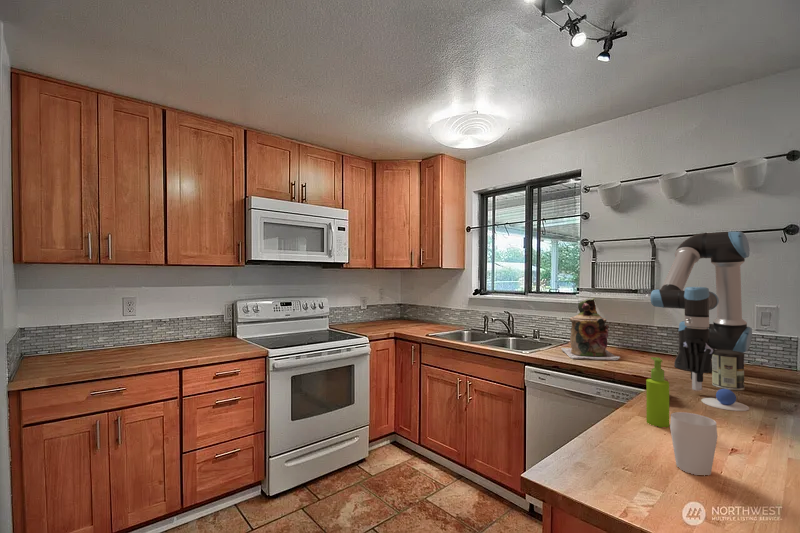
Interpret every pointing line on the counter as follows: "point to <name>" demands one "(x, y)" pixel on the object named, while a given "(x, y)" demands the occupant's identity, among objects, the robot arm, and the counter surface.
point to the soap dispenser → (657, 396)
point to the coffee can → (728, 369)
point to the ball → (726, 396)
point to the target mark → (717, 404)
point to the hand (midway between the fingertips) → (696, 389)
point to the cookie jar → (589, 334)
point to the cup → (693, 442)
